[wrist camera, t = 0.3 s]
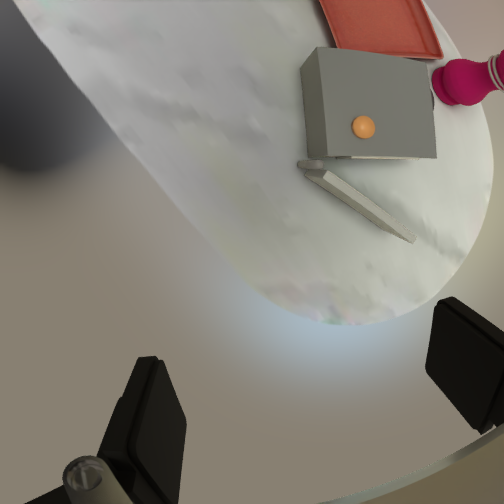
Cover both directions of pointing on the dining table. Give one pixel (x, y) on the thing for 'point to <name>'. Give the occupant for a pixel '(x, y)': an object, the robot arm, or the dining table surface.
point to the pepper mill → (468, 80)
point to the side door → (354, 199)
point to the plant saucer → (383, 27)
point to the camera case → (367, 106)
